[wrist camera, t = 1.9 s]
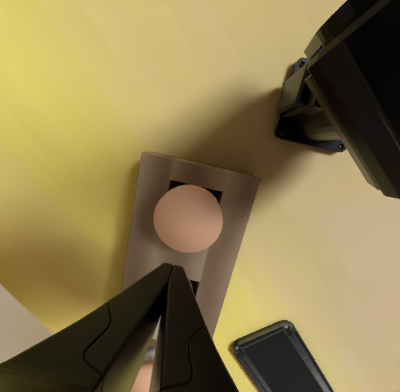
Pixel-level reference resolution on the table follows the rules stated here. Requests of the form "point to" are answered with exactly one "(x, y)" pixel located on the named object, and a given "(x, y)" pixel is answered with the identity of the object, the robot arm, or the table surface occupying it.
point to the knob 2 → (188, 218)
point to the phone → (280, 360)
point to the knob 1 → (145, 373)
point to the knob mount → (198, 261)
